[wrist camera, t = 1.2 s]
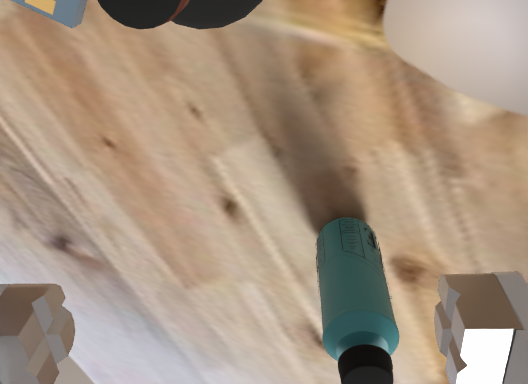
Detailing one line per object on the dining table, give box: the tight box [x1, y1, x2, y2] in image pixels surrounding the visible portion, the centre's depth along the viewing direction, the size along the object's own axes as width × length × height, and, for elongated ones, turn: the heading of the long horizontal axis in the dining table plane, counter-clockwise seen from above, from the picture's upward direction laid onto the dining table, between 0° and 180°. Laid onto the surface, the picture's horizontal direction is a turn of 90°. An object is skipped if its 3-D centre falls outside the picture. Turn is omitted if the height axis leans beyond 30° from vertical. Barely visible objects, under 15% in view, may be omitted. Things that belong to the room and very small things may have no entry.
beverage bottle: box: [315, 217, 399, 384], centre depth 46 cm, size 6×7×20 cm
